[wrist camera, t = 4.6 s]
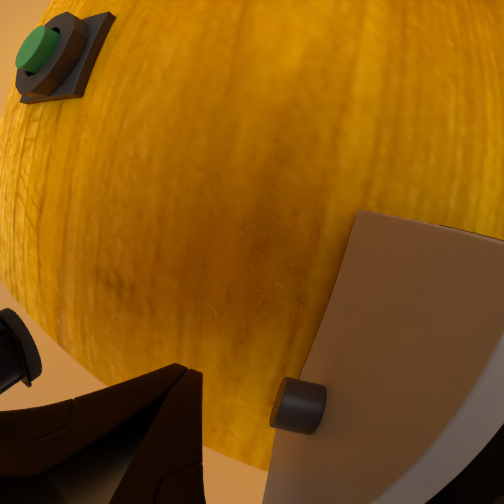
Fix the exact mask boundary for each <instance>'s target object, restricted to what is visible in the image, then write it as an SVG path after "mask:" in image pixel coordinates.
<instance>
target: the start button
mask: <svg viewBox="0 0 504 504" xmlns="http://www.w3.org/2000/svg"><path fill="white" fill-rule="evenodd" d="M59 37H60V35H59V33H57V32H55V31H53V30H51V29H49V28H47V27H45V26H39V27H37V28H36V29H35V30H33V31H32V32H31V34H30V35H29V36H28V37H27V38H26V40H25V41H24V43H23V44H22V46H21V48H20V50H19V52H18V55H17V58H16V67H17V68H19V69H22V70H25V71H28V72H32V73H36V72H38V71H39V70H40V69H41V68H42V67H43V66H44V65H45V63H46V62H47V61H48V59H49V58H50V56H51V55H52V53H53V51H54V49H55V47H56V45H57V43H58V41H59Z"/></svg>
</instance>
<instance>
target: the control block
mask: <svg viewBox="0 0 504 504" xmlns="http://www.w3.org/2000/svg"><path fill="white" fill-rule="evenodd" d="M114 19H115V16H114V15H113V14H111V13H110V12H105V13H101V14H98V15H94V16H91V17H88V18H85V19H82V20H81V19H79V18H78V17H76V16H74V15H72V14H71V13H69V12H64V13H62V14H60V15H58V16H55V17H53V18H52V19H51V20H50V21H49V22H48V23H47V24H45V25H44V26H45V27H47V28H49V29H51V30H53V31H55V32H57V33H59V35H60V37H59V41H58V43H57V45H56V47H55V49H54V51H53V53H52V55H51V56H50V58H49V59H48V61H47V62H46V63H45V65H44V66H43V67H42V68H41V69H40V70H39V71H38V72H36V73H32V72H28V71H25V70H22V69H19V68H18V69H17V75H16V84H15V85H16V88H17V90H18V91H19V93H20V94H21V95H22V97H21V100H20V103H24V104H31V103H37V102H43V101H49V100H57V99H65V98H75V97H82V95H83V92H84V89H85V86H86V83H87V81H88V78H89V75H90V72H91V70H92V67H93V65H94V62H95V60H96V57H97V55H98V53H99V50H100V48H101V46H102V44H103V41H104V39H105V37H106V35H107V33H108V31H109V29H110V27H111V25H112V23H113V21H114Z"/></svg>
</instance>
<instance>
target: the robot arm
mask: <svg viewBox="0 0 504 504" xmlns="http://www.w3.org/2000/svg"><path fill="white" fill-rule="evenodd" d="M20 380H21V381H22V382H23V383H24V384H25V385H26V386H28V387H31V386H32V383H31V380H30V376H29V373H28V369H27V365H26V361H25V357H24V353H23V349H22V344H21V340H20V338H19V337H18V335H16V334H15V333H14V332H13V331H12V330H11V329H10V328H9V327H8V326H6V325H5V324H4V323H3V322H2V321H1V320H0V394H2V393H3V392H5V391H6V390H7V389H9V388H10V387H12V386H13V385H14V384H16V383H17V382H19V381H20ZM202 397H203V374H202V373H201V372H199V371H196V370H193V369H188V368H187V367H185V366H183V365H180V364H178V363H173V364H170V365H168V366H165V367H163V368H160V369H158V370H155V371H152V372H150V373H147V374H144V375H142V376H139V377H136V378H133V379H130V380H128V381H125V382H122V383H119V384H116V385H113V386H110V387H107V388H104V389H102V390H98V391H95V392H92V393H89V394H85V395H82V396H79V397H76V398H74V400H73V399H69V400H65V401H62V402H58V403H54V404H50V405H45V406H40V407H34V408H28V409H20V410H10V411H0V504H206V501H205V496H204V484H203V465H202V461H203V460H202Z"/></svg>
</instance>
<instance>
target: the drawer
mask: <svg viewBox="0 0 504 504" xmlns="http://www.w3.org/2000/svg"><path fill="white" fill-rule="evenodd" d="M270 427H272V428H276V432H275V438H274V444H273V449H272V455H271V461H270V466H269V472H268V477H267V482H266V488H265V492H264V498H263V502H262V504H492V503H493V502H494V501H495V500H496V499H498V498H499V497H500V496H501V495H502V494H503V493H504V242H503V241H499V240H496V239H492V238H488V237H484V236H480V235H477V234H473V233H469V232H464V231H460V230H456V229H452V228H448V227H443V226H439V225H434V224H430V223H425V222H420V221H416V220H411V219H406V218H401V217H396V216H390V215H385V214H380V213H374V212H368V211H363V210H357V213H356V216H355V220H354V224H353V227H352V231H351V234H350V238H349V241H348V244H347V248H346V251H345V254H344V258H343V261H342V264H341V267H340V270H339V273H338V276H337V280H336V283H335V286H334V288H333V291H332V294H331V297H330V300H329V303H328V306H327V308H326V311H325V314H324V317H323V319H322V322H321V325H320V327H319V330H318V333H317V335H316V338H315V340H314V343H313V345H312V348H311V350H310V353H309V355H308V358H307V360H306V363H305V365H304V367H303V370H302V372H301V374H300V377H299V379H294V378H290V377H285V378H284V379H283V381H282V383H281V385H280V387H279V390H278V392H277V395H276V398H275V401H274V405H273V408H272V412H271V416H270Z"/></svg>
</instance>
